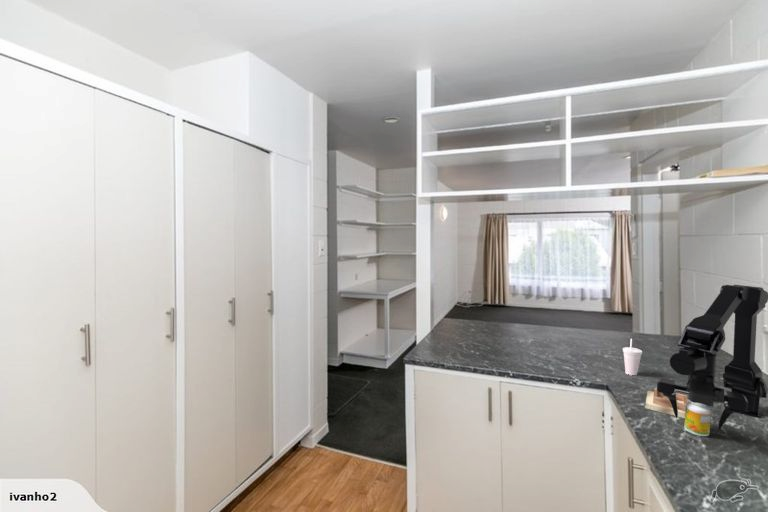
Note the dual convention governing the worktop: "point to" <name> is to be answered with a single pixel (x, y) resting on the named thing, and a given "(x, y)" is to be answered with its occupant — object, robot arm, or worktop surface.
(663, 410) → the birch stand
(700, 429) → the supplement bottle
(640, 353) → the smoothie
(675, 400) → the robot arm
